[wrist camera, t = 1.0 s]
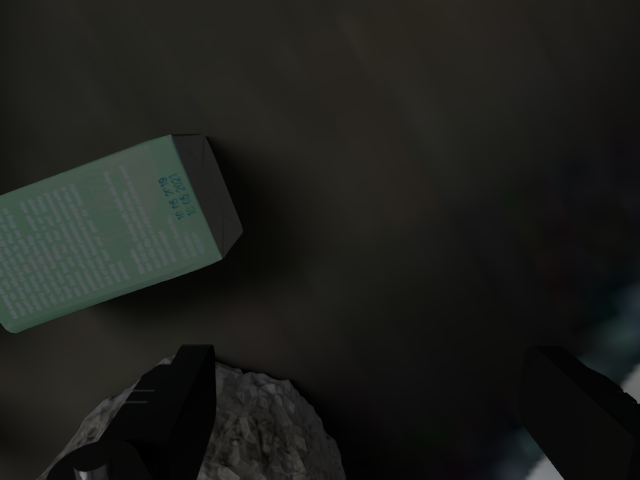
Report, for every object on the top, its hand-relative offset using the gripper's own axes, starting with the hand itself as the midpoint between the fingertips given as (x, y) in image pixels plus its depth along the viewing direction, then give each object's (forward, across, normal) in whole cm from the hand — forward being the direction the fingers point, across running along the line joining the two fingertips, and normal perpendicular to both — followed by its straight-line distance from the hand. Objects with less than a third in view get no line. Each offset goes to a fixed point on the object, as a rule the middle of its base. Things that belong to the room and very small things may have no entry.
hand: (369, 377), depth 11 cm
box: (+20, +14, 0) cm, 24 cm away
